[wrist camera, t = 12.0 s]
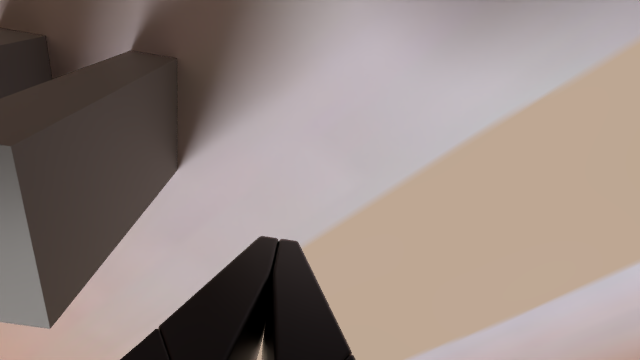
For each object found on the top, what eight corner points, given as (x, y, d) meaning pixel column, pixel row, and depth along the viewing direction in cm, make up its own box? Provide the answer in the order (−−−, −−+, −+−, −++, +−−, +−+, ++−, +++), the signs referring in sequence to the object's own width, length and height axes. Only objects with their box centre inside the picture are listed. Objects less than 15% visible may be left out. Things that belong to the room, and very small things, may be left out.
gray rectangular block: (176, 58, 14) (10, 146, 7) (177, 169, 16) (50, 328, 9) (130, 50, 14) (-87, 130, 7) (136, 163, 16) (-25, 318, 9)
